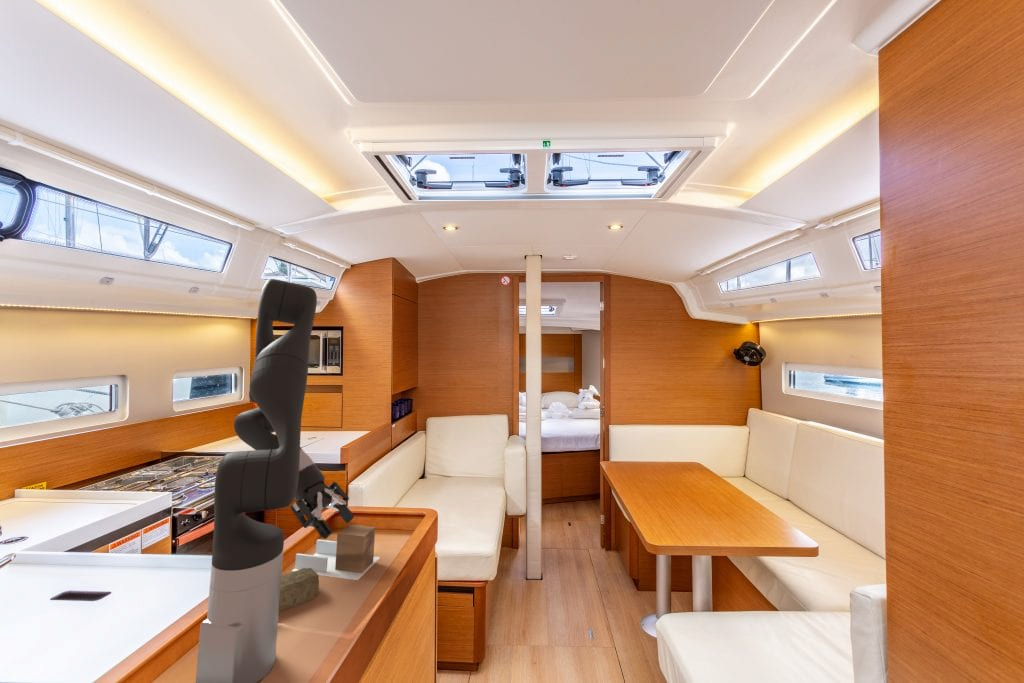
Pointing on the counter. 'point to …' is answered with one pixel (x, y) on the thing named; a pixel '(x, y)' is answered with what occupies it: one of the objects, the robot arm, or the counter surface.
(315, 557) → the white tray
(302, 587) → the stone block
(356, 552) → the walnut block
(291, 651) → the counter surface
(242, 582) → the robot arm
